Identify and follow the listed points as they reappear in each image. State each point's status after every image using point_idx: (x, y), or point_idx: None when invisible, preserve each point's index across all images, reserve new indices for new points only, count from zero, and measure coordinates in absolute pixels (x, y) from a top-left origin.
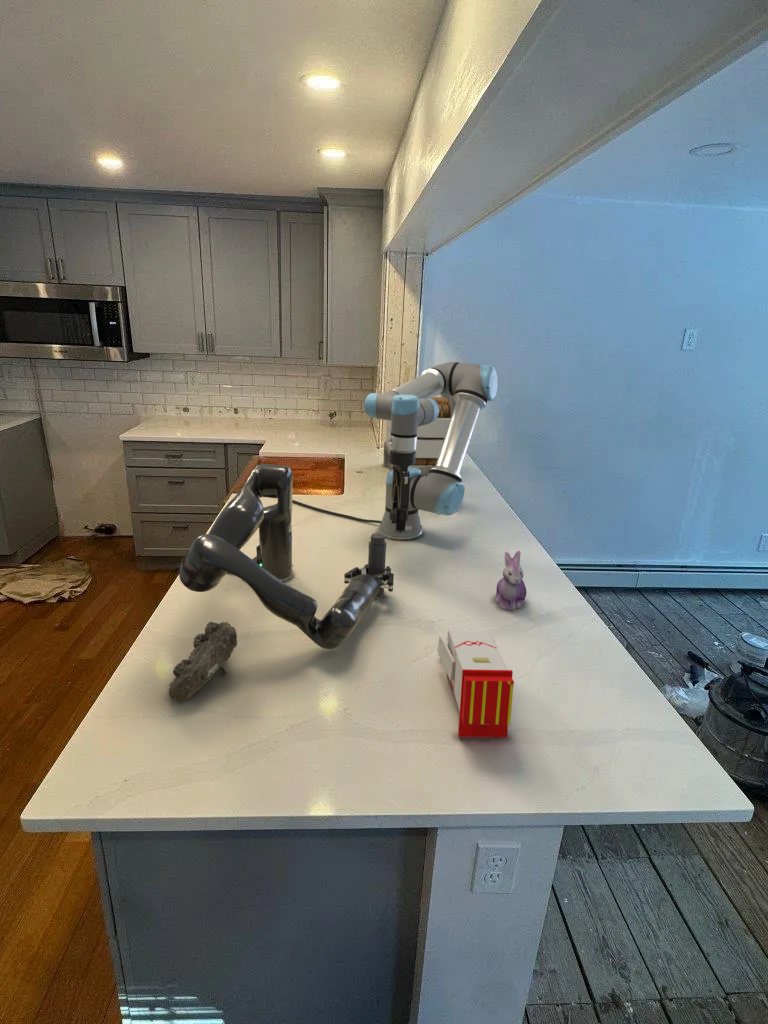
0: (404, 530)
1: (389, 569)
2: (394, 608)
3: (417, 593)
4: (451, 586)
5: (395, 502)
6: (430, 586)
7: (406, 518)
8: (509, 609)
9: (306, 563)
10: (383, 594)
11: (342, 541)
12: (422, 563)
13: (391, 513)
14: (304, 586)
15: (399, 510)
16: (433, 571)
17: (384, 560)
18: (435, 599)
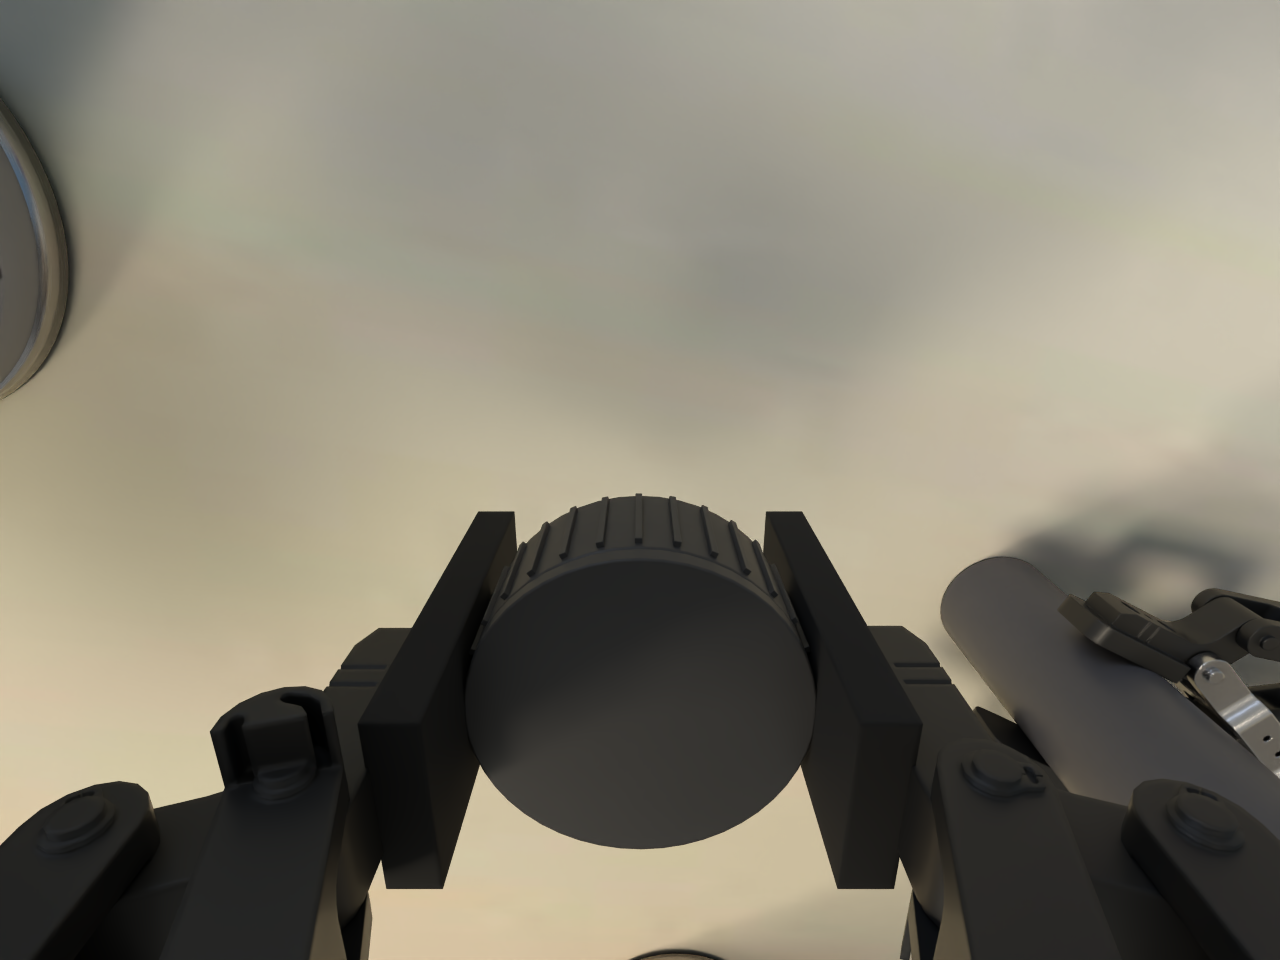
0: (801, 518)
1: (1138, 628)
2: (1203, 527)
3: (1070, 339)
4: (1047, 11)
5: (393, 842)
6: (996, 208)
7: (753, 554)
8: None
9: (537, 892)
10: (1031, 566)
11: (177, 697)
12: (571, 164)
13: (701, 830)
14: (813, 908)
15: (900, 837)
16: (740, 101)
17: (1236, 741)
18: (1200, 225)
